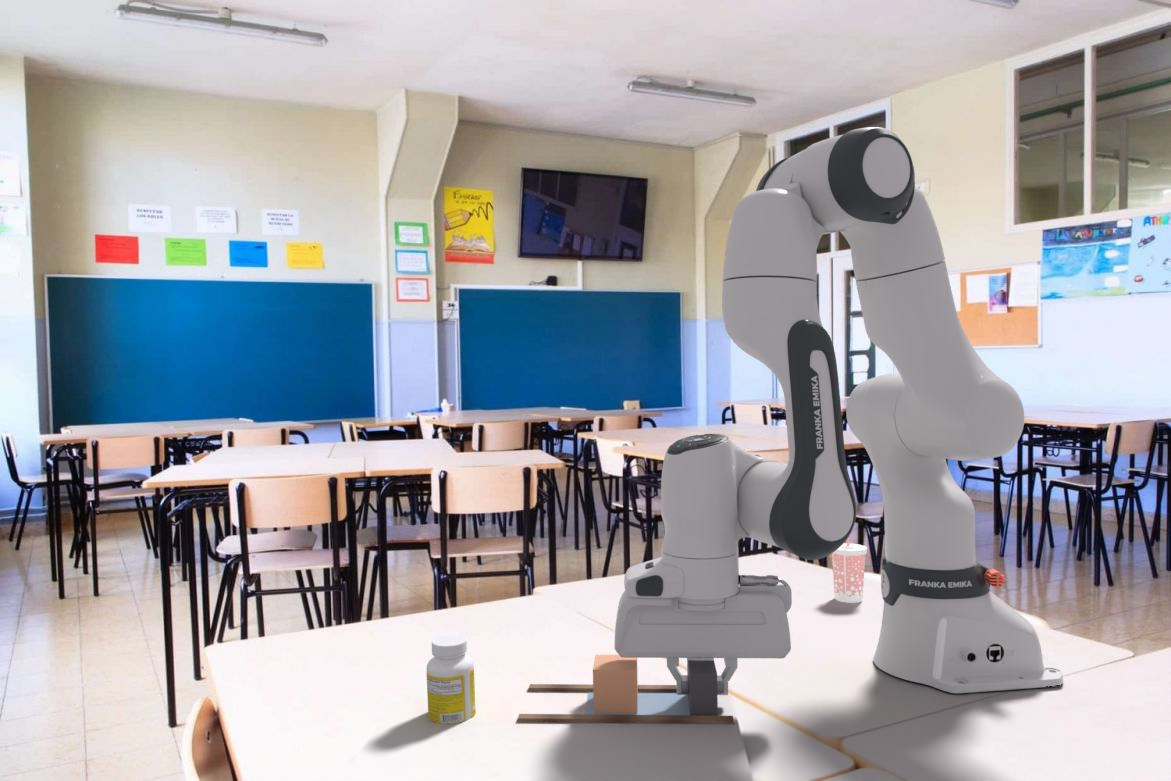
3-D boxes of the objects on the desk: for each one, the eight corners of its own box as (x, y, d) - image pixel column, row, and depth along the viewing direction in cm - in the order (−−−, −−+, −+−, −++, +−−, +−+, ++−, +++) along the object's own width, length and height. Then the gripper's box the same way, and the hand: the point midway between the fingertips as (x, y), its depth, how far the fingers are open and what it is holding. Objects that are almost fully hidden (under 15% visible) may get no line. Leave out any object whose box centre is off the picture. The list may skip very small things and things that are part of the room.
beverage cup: (871, 596, 144) (870, 516, 144) (862, 606, 139) (861, 522, 139) (835, 592, 148) (834, 513, 147) (825, 601, 143) (824, 519, 142)
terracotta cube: (637, 696, 101) (637, 654, 100) (637, 713, 96) (636, 670, 95) (596, 695, 101) (595, 654, 101) (593, 713, 96) (592, 669, 96)
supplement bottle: (453, 710, 101) (451, 629, 100) (485, 722, 97) (483, 638, 97) (418, 726, 96) (415, 641, 96) (449, 739, 93) (447, 651, 93)
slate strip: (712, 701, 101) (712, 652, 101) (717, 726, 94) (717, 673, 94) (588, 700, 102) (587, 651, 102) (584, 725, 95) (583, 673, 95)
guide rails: (725, 698, 102) (725, 685, 102) (734, 734, 92) (733, 720, 92) (530, 696, 104) (530, 684, 104) (518, 732, 94) (517, 718, 94)
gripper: (786, 568, 100) (788, 683, 100) (614, 568, 101) (616, 682, 102) (796, 582, 93) (797, 705, 94) (612, 582, 95) (614, 703, 95)
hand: (702, 693), depth 98 cm, fingers closed on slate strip, 3 cm apart
